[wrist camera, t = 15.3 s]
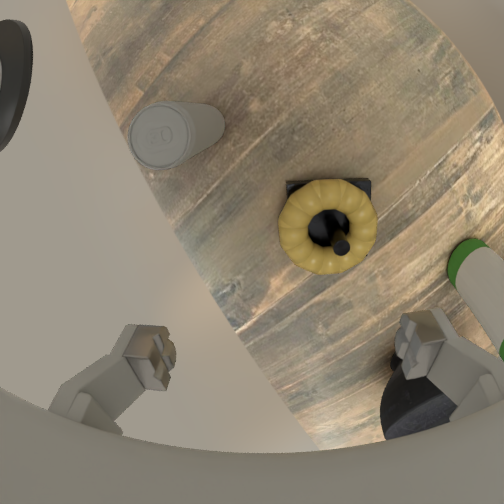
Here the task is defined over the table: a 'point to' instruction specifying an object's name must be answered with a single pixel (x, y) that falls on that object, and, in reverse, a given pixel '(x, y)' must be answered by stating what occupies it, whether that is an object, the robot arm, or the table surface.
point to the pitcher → (412, 404)
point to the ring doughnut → (313, 202)
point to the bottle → (481, 286)
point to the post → (330, 219)
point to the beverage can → (173, 132)
